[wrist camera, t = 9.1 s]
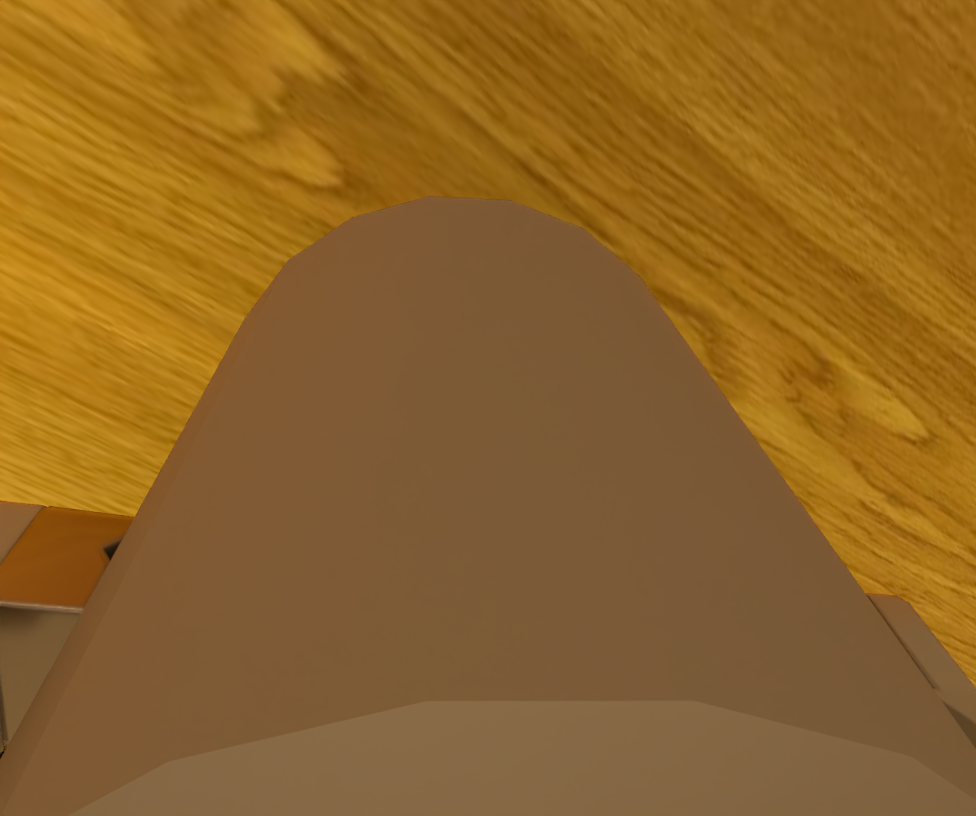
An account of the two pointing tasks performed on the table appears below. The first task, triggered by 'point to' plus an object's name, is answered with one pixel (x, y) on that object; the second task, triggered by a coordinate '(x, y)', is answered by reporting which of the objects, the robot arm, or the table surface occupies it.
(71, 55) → the table surface
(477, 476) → the can
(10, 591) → the robot arm
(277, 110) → the table surface
